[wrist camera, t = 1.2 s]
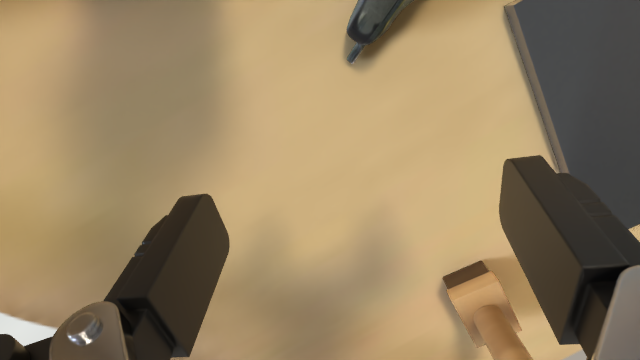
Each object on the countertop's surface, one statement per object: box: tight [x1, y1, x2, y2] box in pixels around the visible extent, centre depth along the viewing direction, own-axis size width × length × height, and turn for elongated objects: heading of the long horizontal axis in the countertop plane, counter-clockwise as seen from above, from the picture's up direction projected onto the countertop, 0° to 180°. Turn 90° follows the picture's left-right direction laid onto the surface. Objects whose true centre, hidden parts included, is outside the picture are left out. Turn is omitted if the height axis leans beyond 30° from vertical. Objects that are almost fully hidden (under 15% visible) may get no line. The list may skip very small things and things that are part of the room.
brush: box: [443, 261, 533, 360], centre depth 30 cm, size 6×4×13 cm
